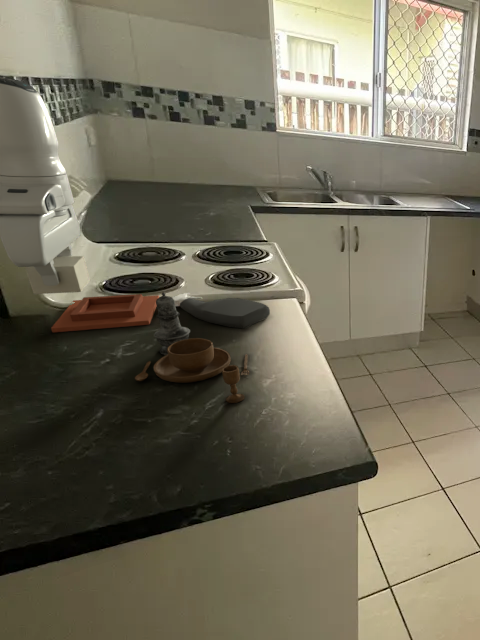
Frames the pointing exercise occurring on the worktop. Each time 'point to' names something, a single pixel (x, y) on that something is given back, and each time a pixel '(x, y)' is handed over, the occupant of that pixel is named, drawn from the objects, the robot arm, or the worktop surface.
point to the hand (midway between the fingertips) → (60, 277)
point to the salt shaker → (169, 324)
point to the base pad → (107, 312)
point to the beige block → (62, 276)
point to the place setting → (197, 365)
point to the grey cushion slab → (224, 310)
